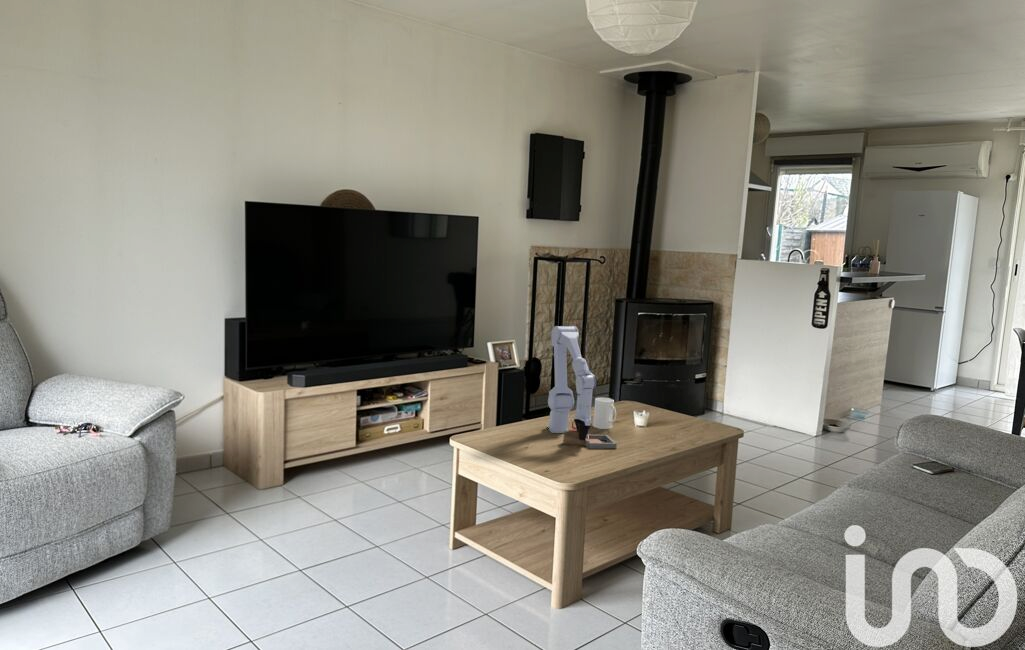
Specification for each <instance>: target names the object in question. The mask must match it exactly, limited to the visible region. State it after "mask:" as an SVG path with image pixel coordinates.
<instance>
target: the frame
mask: <svg viewBox="0 0 1025 650" xmlns="http://www.w3.org/2000/svg"><path fill="white" fill-rule="evenodd" d="M588 435H589V439H599V440H600V441H605V440H606V441H607V442H606V441H605V442H602V443H589V447H588V449H604V448H616V449H617V445H618V443H617V442H616V441H615V440H613V438H611V437H610V436H609V435H608V434H588Z"/></svg>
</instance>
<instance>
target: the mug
mask: <svg viewBox="0 0 1025 650" xmlns="http://www.w3.org/2000/svg"><path fill="white" fill-rule="evenodd" d="M614 403H615V400H614V399H612V398H610V397H596V398H595V400H594V409H593V410H594V411H593V422H592V427H594V428H596V429H600V430H611V429H613V423H614V422H615V421H616V419H617V410H616V407H615V406H614V405H615V404H614ZM613 416H614V418H613Z"/></svg>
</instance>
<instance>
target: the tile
mask: <svg viewBox="0 0 1025 650" xmlns="http://www.w3.org/2000/svg"><path fill="white" fill-rule="evenodd" d="M588 440H589V443H603V442H602V440H599V439H588Z"/></svg>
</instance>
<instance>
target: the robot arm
mask: <svg viewBox="0 0 1025 650" xmlns="http://www.w3.org/2000/svg"><path fill="white" fill-rule="evenodd" d="M579 333H580V332H579V329H578V327H577V326H576V325H571V326H570V325H568V326H565V325H564V326H563V325H560V326H558V325H555V326H554V327H553V328H552V330H551V333H550V335H551V346H552V347H553V358H554V359H553V360H554V361H553V362H554V387H552V389H550V390H549V391H548V399H547V404H548V407H549V408H550V412H549V422H548V425H547V426H546V428H547V427H548V428H549V429H548V428H547V429H548V430H549V431H550V432H551V434H564V430H569V429H568V427H569V419H570V417H569V415H570V412H571V410H572V409H573V407H574V405H575V398H574V394H573V390H572V389H570V387H568V368H567V366H568V364H567V363H568V362H567V361H568V360H567V359H568V358H567V350H568V353H569V354H570V356H571V359H572V361H571V366H572V369H573V371H574V374H575V383H574V384H575V386H576V391H575V392H576V393H577V396H576V397H577V398H576V409H575V414H573V415H572V418H574V419H573V422H574V424H575V425H574V426H575V429H576V430H578V431H579V438H580V440H585V439H586V436H587V435H588V433H589V431H590V428H591V427H592V426H593V423H592V416H591V413H592V402H593V400H592V399H593V390H594V389H596V386H597V378H596V376H595V374H593V373H592V372H591V371H590V369H589V366H588V362H587V361H586V359H585V358H583V357H582V354H581V349H580V346H579V342H578V341H579V337H580V334H579Z"/></svg>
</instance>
